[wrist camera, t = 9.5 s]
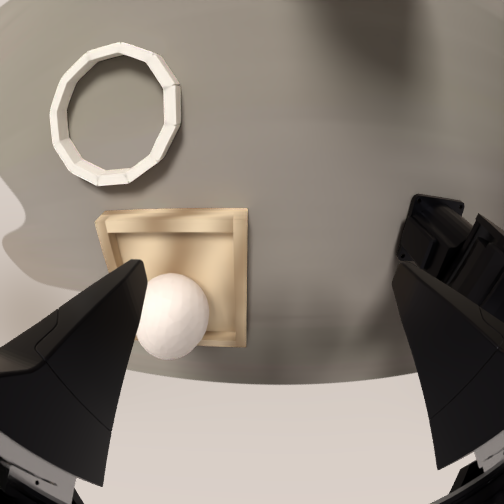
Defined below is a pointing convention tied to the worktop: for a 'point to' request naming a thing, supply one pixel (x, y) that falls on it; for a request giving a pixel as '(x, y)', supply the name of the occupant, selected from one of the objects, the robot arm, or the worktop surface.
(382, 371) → the worktop surface
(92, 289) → the robot arm
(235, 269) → the tray
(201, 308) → the egg
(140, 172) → the white faceted hoop
